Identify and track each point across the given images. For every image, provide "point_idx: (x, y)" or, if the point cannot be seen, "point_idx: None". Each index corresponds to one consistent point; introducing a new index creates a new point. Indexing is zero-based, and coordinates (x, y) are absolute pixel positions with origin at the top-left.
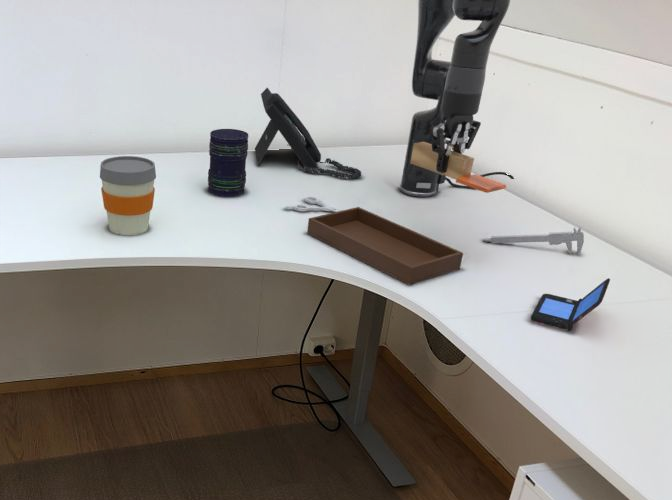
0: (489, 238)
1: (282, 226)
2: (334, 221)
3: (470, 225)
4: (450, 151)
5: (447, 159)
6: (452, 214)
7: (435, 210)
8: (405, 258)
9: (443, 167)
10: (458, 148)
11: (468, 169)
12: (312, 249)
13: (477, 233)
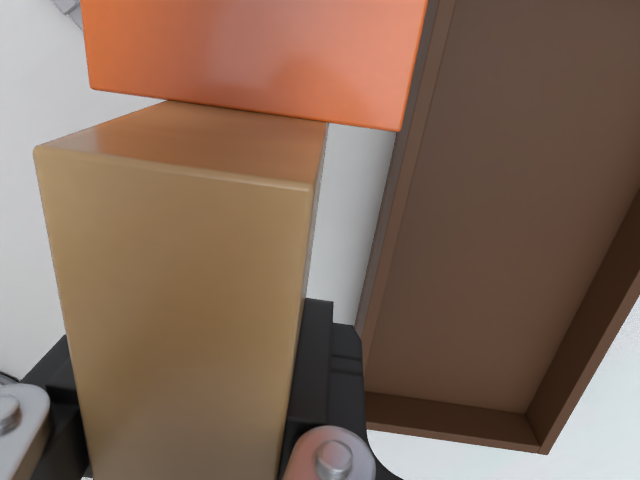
0: (76, 18)
1: (523, 467)
2: (445, 412)
3: (30, 163)
4: (282, 478)
5: (318, 389)
6: (18, 256)
7: (49, 305)
8: (538, 119)
9: (332, 341)
10: (33, 477)
11: (198, 123)
12: (628, 351)
13: (62, 101)
